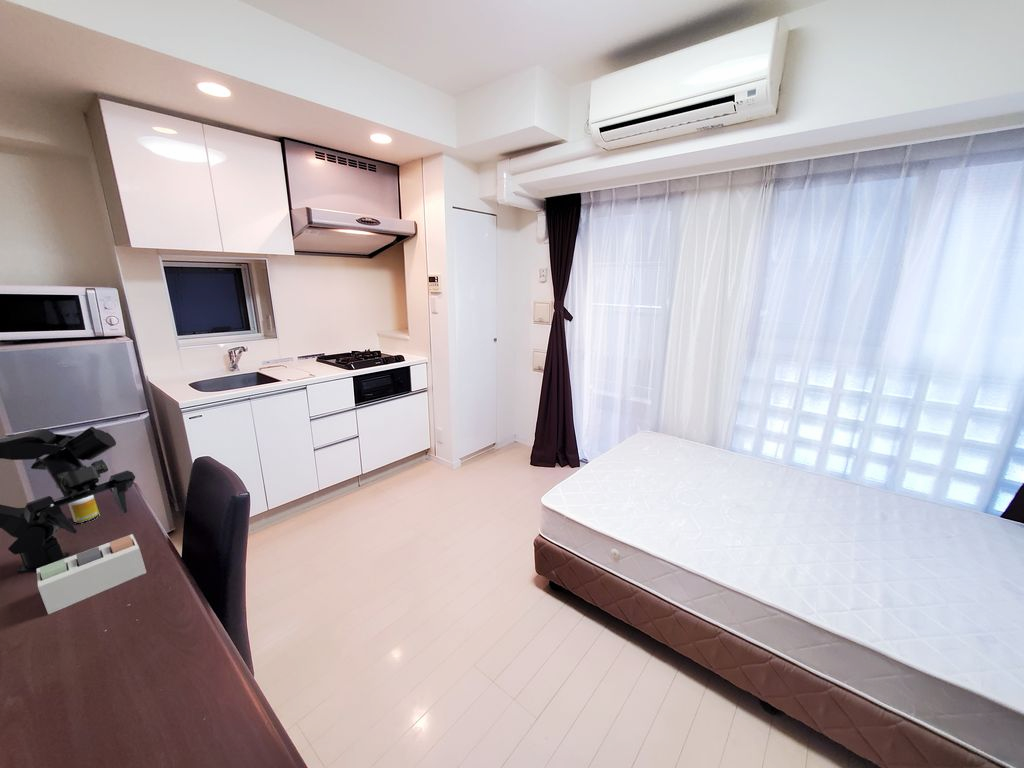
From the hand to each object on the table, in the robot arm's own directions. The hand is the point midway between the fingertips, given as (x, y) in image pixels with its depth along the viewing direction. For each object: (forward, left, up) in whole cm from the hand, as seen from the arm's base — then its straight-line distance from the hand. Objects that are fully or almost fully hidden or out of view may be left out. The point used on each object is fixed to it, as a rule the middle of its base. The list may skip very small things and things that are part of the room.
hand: (101, 522), depth 96 cm
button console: (+2, -6, -12) cm, 14 cm away
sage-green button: (-2, -10, -7) cm, 13 cm away
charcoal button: (+2, -6, -7) cm, 9 cm away
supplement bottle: (-28, +22, -13) cm, 38 cm away
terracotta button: (+5, -2, -7) cm, 9 cm away
